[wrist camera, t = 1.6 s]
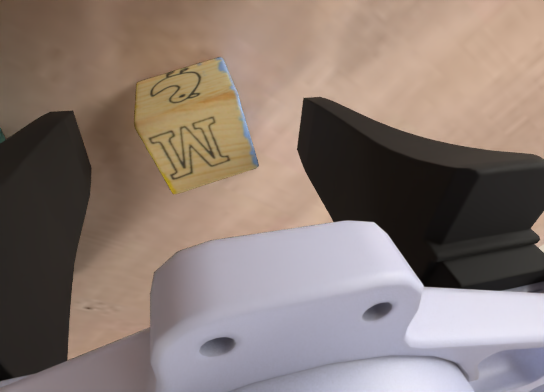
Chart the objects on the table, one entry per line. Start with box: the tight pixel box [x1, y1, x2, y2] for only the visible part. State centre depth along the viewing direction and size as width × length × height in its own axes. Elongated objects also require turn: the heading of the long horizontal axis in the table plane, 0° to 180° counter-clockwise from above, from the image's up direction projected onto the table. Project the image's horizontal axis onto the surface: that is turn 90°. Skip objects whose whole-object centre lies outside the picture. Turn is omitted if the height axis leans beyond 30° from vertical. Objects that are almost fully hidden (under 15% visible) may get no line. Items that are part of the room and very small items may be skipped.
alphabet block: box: [134, 57, 259, 194], centre depth 12 cm, size 3×3×3 cm
